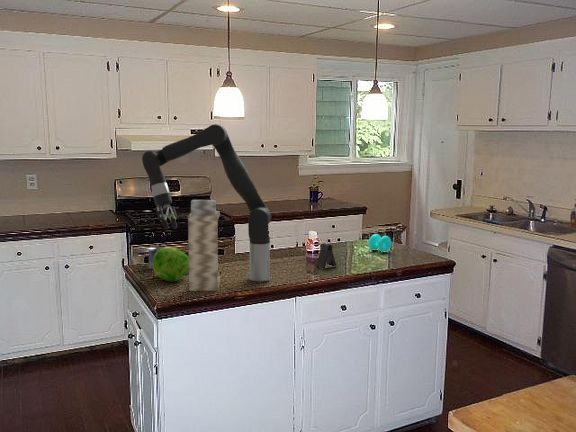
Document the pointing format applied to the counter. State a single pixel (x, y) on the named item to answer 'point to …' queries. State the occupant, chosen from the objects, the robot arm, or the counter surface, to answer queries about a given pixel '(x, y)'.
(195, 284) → the beige patterned upright block
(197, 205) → the grey patterned block
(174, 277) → the lettuce
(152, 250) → the flask
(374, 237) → the turquoise double oval
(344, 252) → the counter surface
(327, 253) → the door stopper
